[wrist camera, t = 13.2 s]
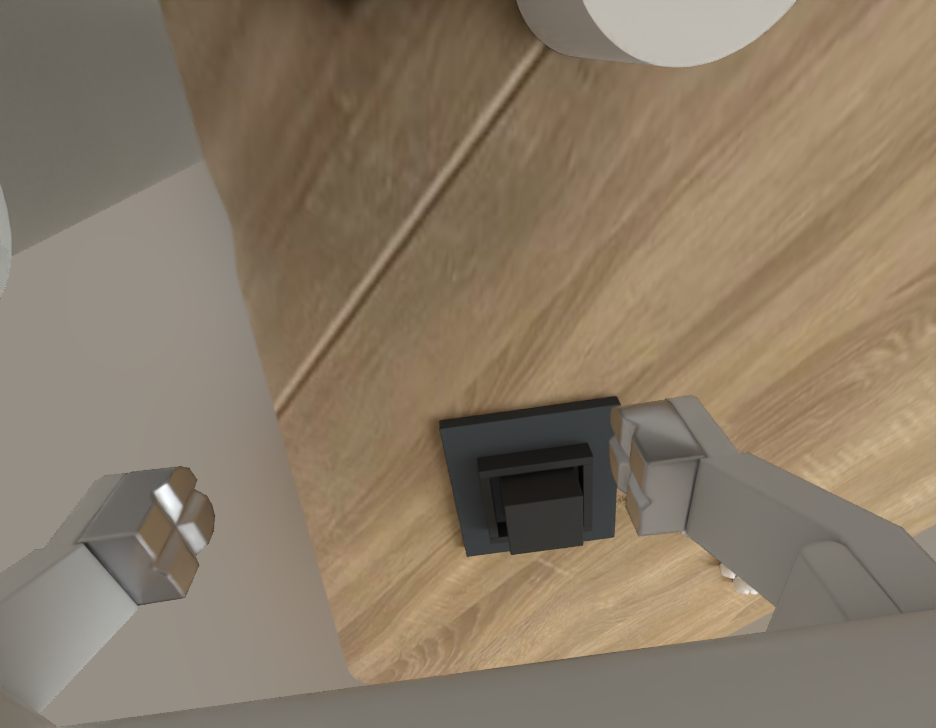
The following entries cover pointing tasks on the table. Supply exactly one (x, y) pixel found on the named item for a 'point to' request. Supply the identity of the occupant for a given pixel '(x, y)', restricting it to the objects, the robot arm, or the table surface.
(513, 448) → the socket base plate
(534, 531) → the black box
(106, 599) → the robot arm
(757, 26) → the cup
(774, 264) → the table surface
